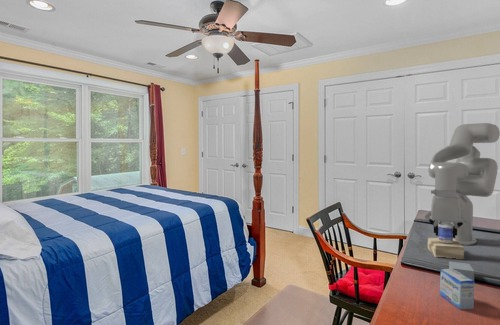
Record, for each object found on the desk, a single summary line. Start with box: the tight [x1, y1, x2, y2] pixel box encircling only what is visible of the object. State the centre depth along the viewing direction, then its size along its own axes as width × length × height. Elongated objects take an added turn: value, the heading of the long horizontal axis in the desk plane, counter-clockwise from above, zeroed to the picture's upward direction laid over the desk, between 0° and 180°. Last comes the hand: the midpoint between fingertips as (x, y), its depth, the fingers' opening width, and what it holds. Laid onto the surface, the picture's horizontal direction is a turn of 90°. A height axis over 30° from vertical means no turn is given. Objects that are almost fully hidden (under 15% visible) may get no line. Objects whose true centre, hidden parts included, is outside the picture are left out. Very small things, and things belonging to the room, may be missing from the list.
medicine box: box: [439, 268, 475, 311], centre depth 85 cm, size 8×4×9 cm, turn 5°
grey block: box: [448, 261, 475, 281], centre depth 100 cm, size 6×6×4 cm
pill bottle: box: [437, 221, 453, 243], centre depth 119 cm, size 5×5×10 cm
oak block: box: [427, 237, 465, 260], centre depth 119 cm, size 10×10×5 cm
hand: (445, 235), depth 119 cm, fingers closed on pill bottle, 5 cm apart
